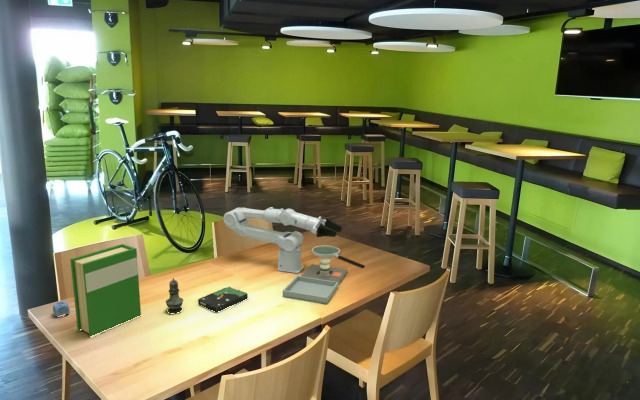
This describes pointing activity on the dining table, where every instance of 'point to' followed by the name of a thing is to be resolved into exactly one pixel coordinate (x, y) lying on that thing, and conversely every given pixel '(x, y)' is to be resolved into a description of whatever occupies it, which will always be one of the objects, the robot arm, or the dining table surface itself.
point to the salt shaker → (174, 298)
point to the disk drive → (222, 299)
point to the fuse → (324, 267)
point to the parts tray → (310, 289)
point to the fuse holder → (314, 271)
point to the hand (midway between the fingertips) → (338, 231)
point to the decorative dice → (61, 308)
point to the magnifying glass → (332, 254)
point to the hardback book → (106, 288)
